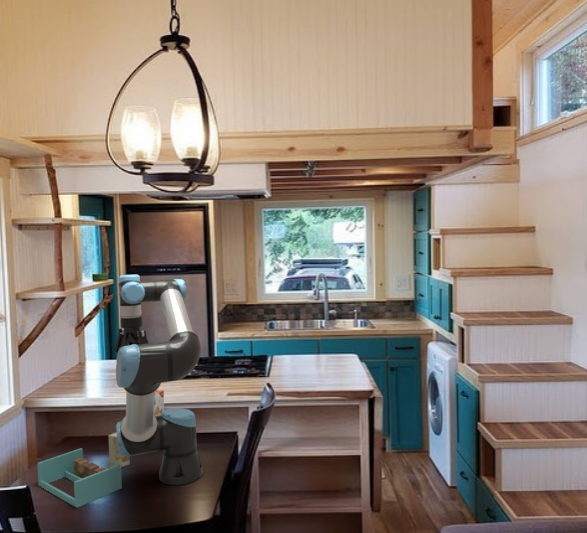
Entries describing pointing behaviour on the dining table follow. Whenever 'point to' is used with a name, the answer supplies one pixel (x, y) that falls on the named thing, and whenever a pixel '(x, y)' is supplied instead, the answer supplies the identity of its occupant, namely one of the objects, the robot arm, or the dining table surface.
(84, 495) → the teal rack
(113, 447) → the skincare box
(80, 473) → the offcut
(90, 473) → the block
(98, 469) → the offcut
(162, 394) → the cracker box
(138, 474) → the dining table surface
